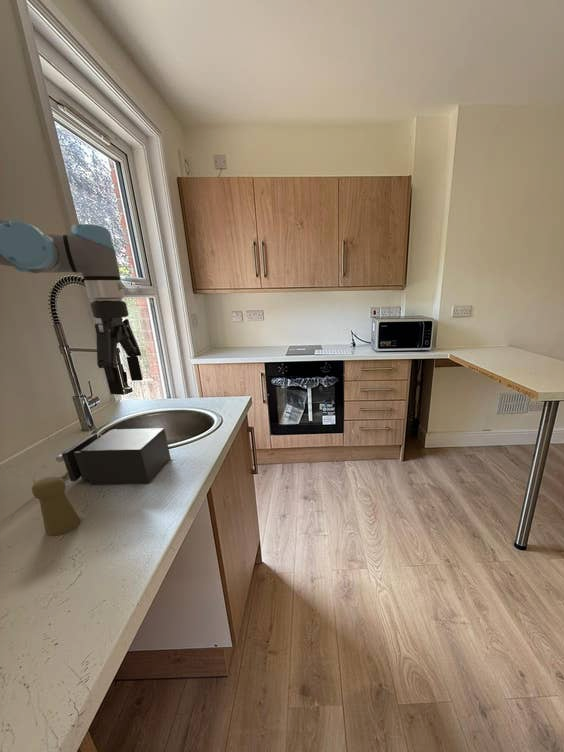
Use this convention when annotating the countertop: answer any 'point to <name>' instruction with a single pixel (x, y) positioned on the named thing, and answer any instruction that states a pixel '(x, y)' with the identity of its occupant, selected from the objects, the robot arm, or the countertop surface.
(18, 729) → the countertop surface
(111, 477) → the cabinet
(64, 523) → the cork
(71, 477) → the drawer
